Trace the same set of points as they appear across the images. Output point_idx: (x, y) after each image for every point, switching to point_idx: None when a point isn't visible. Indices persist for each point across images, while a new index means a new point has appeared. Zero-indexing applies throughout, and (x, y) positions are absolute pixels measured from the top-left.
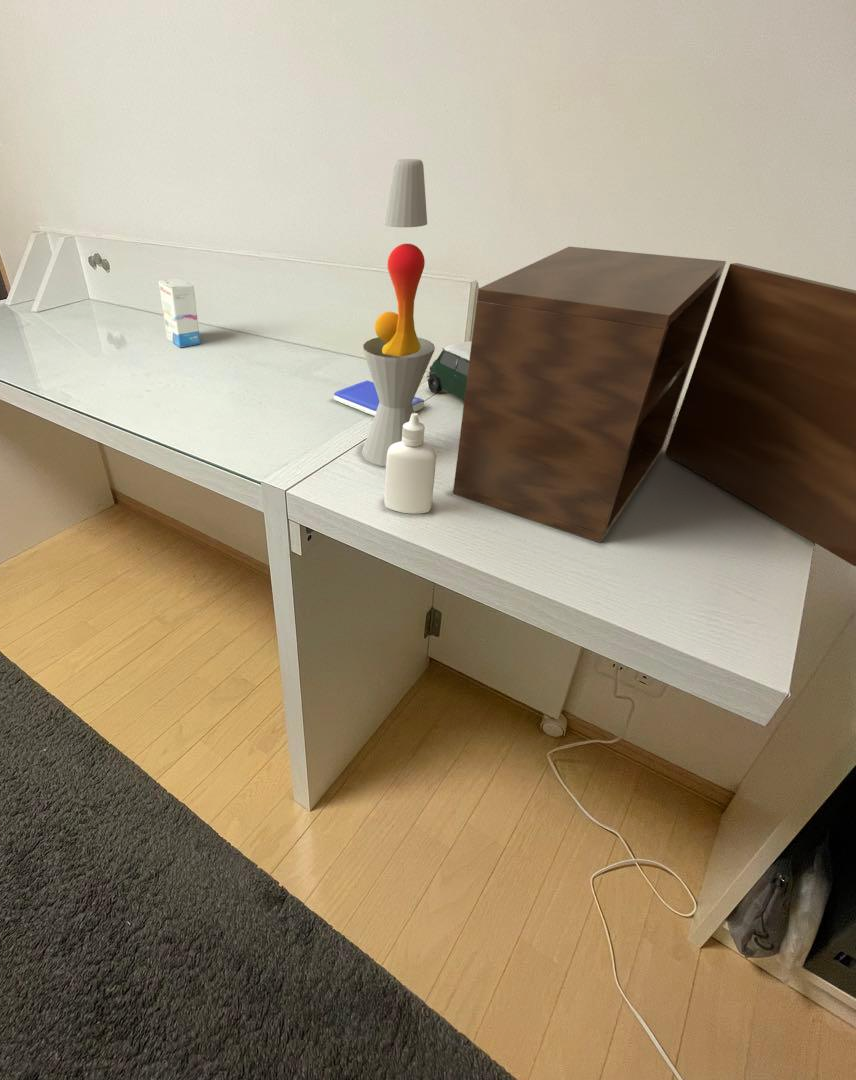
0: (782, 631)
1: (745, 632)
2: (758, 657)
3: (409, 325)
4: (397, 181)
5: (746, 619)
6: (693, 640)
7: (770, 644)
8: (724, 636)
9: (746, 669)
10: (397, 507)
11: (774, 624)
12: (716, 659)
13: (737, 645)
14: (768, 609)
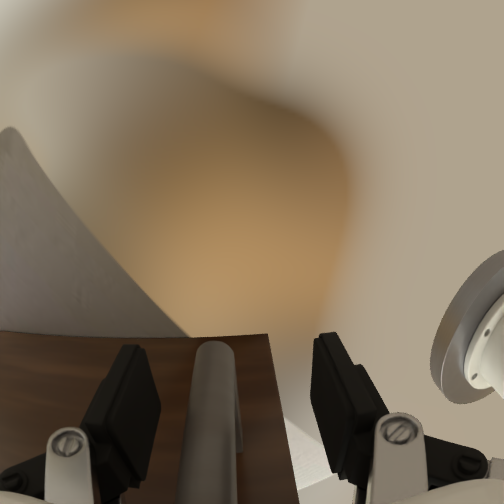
0: (315, 446)
1: (305, 462)
2: (327, 465)
3: None
4: None
5: (294, 457)
6: (297, 483)
7: (322, 456)
8: (302, 472)
9: (331, 472)
10: None
11: (307, 447)
12: (316, 480)
13: (313, 469)
14: (291, 442)
